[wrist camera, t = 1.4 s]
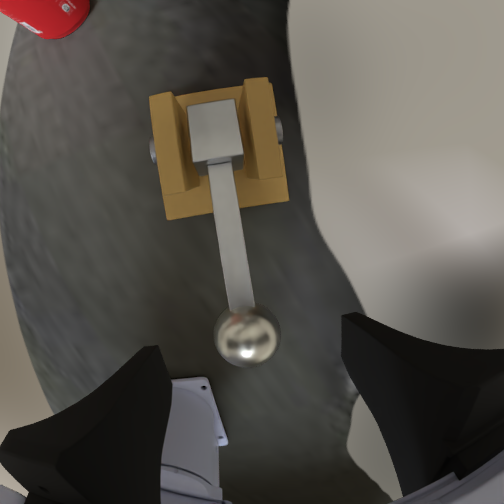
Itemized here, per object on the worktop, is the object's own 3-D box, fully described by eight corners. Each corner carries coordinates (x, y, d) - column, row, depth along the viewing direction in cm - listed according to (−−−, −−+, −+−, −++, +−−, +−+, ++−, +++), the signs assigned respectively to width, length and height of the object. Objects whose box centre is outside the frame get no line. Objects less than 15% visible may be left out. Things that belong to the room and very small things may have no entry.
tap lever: (280, 349, 14) (290, 371, 11) (222, 358, 14) (218, 383, 11) (242, 121, 14) (244, 92, 11) (186, 130, 14) (175, 104, 11)
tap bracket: (286, 199, 20) (322, 215, 12) (169, 218, 19) (137, 245, 12) (269, 86, 18) (295, 40, 10) (152, 105, 17) (113, 69, 10)
